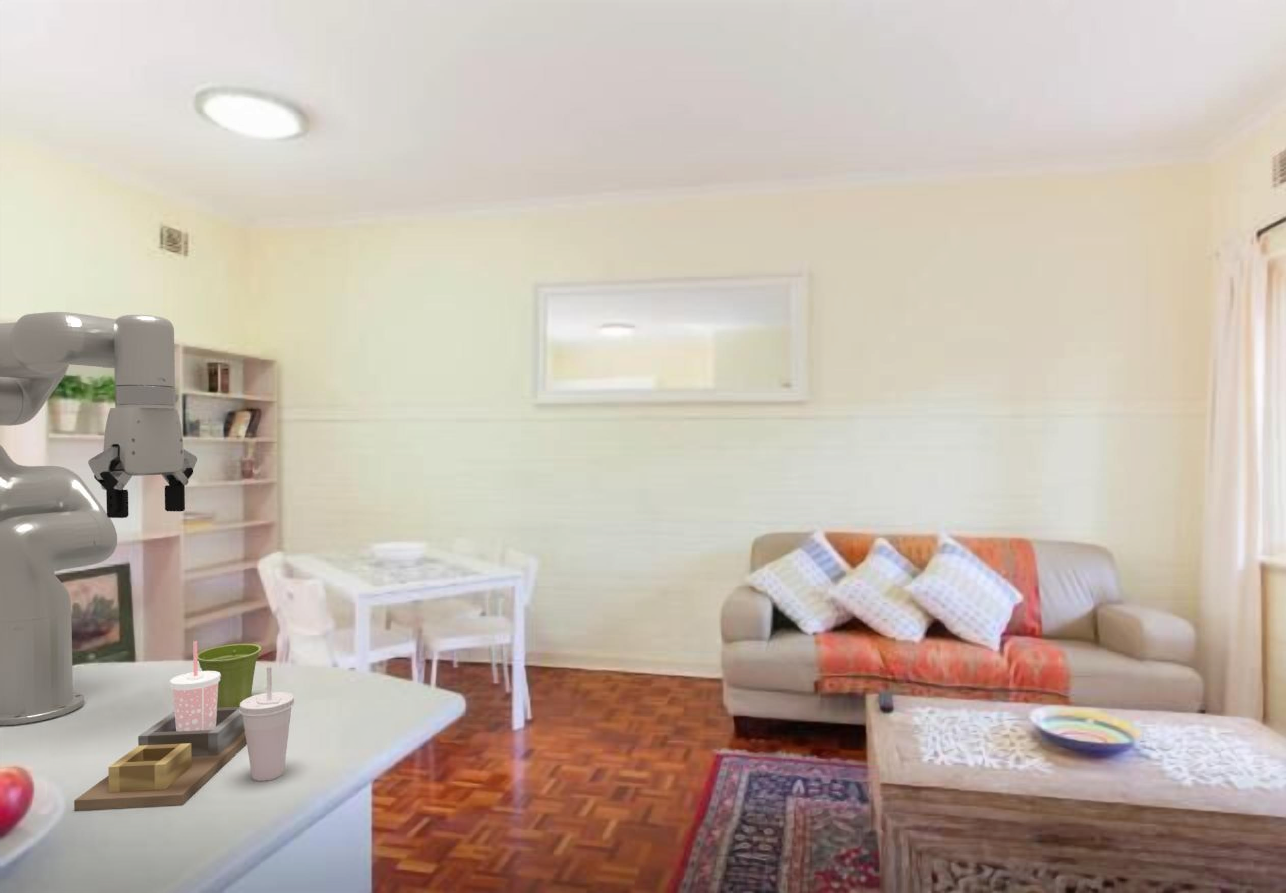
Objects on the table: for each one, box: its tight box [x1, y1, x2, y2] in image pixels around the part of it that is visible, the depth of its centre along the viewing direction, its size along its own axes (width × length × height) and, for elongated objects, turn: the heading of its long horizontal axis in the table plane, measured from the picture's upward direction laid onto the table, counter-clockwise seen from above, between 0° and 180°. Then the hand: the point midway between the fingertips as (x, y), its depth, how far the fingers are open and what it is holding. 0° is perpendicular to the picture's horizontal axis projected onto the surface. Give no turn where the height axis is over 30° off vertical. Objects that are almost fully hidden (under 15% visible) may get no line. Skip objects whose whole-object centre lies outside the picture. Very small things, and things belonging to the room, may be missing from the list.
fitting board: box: [73, 707, 247, 811], centre depth 100 cm, size 22×12×4 cm, turn 6°
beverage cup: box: [169, 640, 221, 731], centre depth 106 cm, size 6×6×14 cm
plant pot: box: [197, 643, 262, 708], centre depth 125 cm, size 9×9×9 cm
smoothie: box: [239, 665, 295, 782], centre depth 98 cm, size 6×6×14 cm
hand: (147, 514), depth 113 cm, fingers open, 9 cm apart
